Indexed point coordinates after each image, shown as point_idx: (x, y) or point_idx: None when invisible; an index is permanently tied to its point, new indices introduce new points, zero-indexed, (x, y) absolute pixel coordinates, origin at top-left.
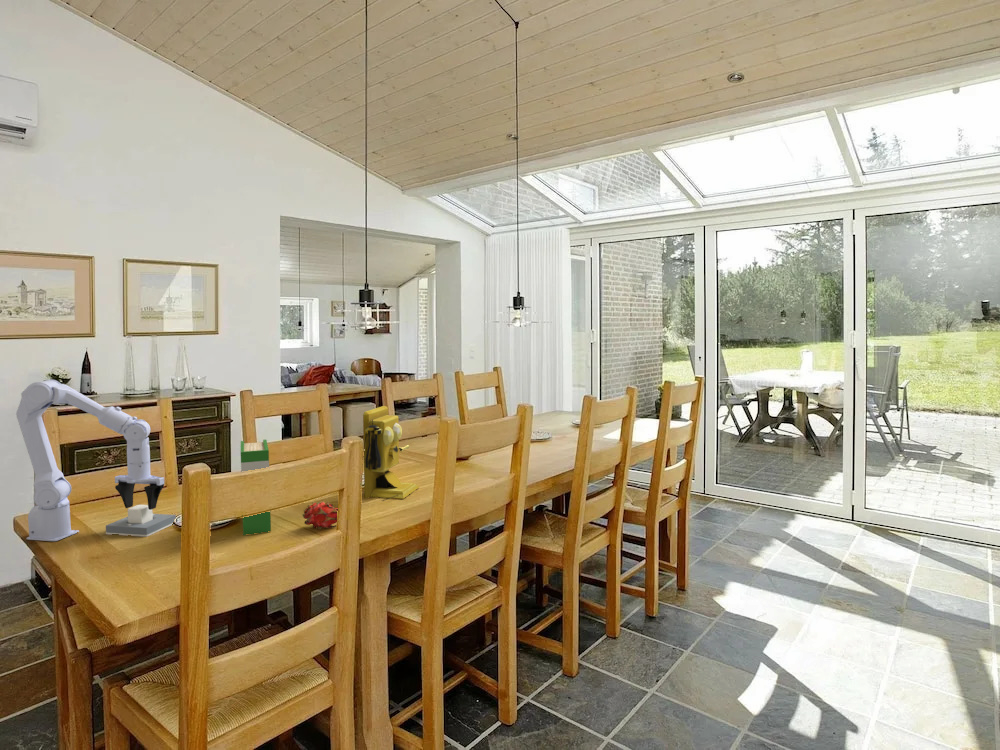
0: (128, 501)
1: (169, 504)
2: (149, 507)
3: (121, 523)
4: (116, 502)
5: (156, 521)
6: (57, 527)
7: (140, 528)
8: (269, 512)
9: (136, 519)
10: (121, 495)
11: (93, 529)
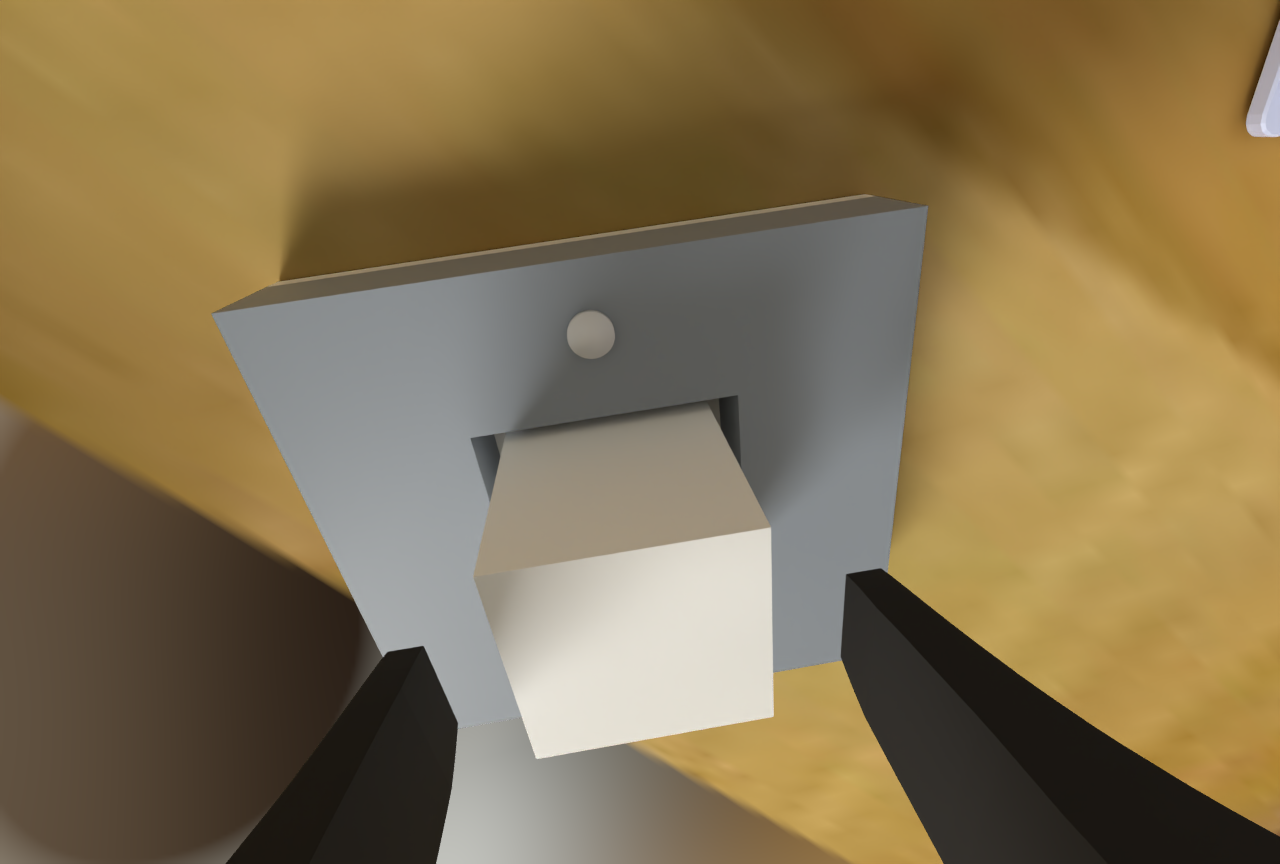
0: (903, 693)
1: (867, 849)
2: (386, 678)
3: (769, 352)
4: (1259, 765)
5: (391, 547)
6: None
7: (324, 292)
8: None
9: (585, 457)
10: (1133, 775)
11: (1118, 281)
